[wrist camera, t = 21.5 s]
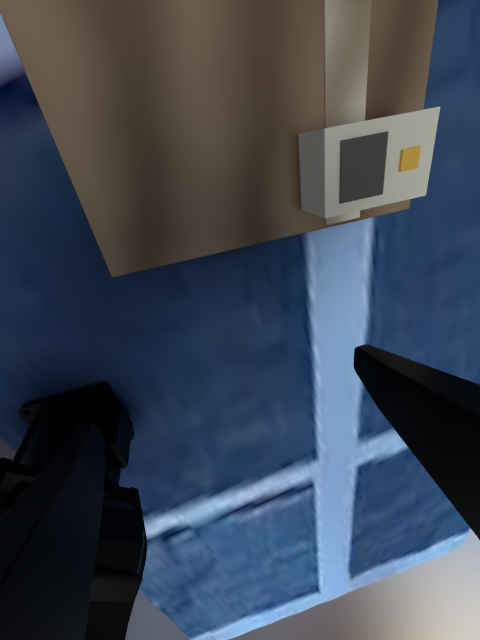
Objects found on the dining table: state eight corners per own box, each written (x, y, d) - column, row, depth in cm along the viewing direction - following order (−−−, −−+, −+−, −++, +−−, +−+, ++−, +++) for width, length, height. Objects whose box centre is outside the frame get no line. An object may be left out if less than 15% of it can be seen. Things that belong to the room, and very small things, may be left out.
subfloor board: (115, 269, 18) (111, 278, 17) (-76, -199, 10) (-115, -257, 8) (394, 205, 21) (410, 208, 19) (441, -218, 12) (477, -266, 11)
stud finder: (301, 209, 18) (326, 218, 15) (298, 133, 16) (326, 128, 13) (389, 190, 18) (428, 195, 16) (396, 114, 16) (442, 106, 14)
